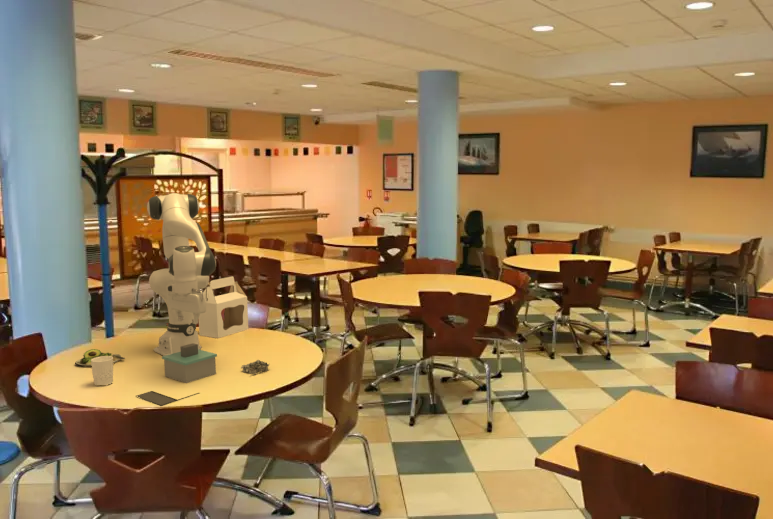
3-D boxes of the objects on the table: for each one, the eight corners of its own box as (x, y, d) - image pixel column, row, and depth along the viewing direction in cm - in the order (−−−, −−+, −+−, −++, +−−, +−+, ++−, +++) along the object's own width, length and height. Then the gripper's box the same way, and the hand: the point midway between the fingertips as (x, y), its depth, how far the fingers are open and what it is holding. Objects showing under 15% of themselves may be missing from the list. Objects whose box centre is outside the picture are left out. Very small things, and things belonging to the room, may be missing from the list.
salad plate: (133, 356, 290) (133, 346, 289) (113, 369, 272) (112, 358, 271) (92, 356, 291) (92, 346, 291) (69, 368, 274) (69, 357, 273)
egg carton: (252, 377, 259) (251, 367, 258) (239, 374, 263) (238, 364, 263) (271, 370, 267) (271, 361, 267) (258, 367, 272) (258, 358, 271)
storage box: (165, 378, 258) (164, 358, 257) (194, 369, 269) (193, 350, 268) (186, 385, 249) (185, 364, 248) (216, 375, 260) (215, 356, 259)
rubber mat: (135, 396, 237) (135, 395, 237) (173, 385, 249) (173, 384, 249) (161, 406, 227) (161, 404, 227) (199, 393, 240) (199, 392, 240)
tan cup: (96, 380, 256) (95, 356, 254) (117, 380, 256) (115, 355, 255) (89, 387, 248) (87, 362, 247) (110, 386, 249) (109, 361, 247)
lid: (162, 361, 257) (161, 346, 256) (194, 353, 269) (193, 338, 268) (185, 368, 248) (184, 352, 247) (217, 359, 259) (216, 344, 259)
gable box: (230, 326, 344) (228, 274, 340) (249, 329, 337) (246, 276, 334) (198, 335, 325) (195, 280, 321) (217, 338, 318) (215, 282, 315)
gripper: (209, 289, 250) (211, 323, 252) (177, 284, 263) (179, 317, 264) (195, 291, 245) (197, 327, 247) (164, 286, 258) (166, 320, 259)
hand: (187, 322), depth 256 cm, fingers open, 8 cm apart
